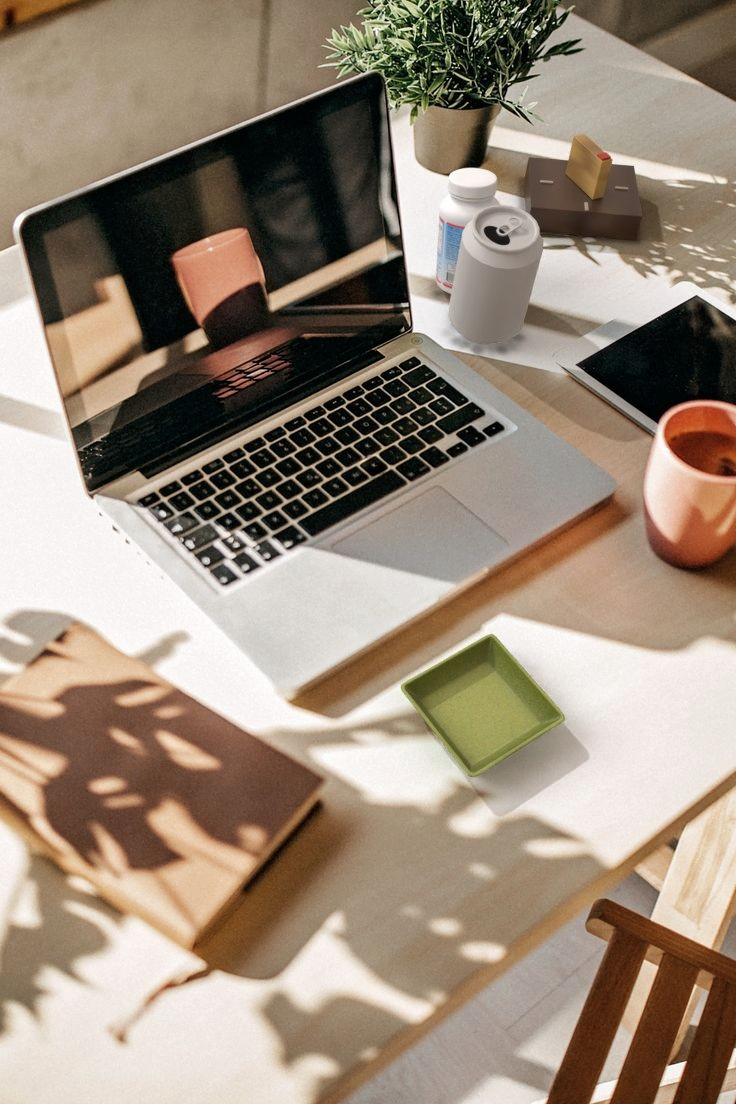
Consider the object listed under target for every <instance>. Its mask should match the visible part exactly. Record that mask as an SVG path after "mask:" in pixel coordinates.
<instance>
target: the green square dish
mask: <svg viewBox="0 0 736 1104" xmlns="http://www.w3.org/2000/svg"><path fill="white" fill-rule="evenodd" d="M400 690H401V692H402V694H403V695H404V696H405V697H406V698H407V700H408V701H409V702H410V704H411V705H412V706H413V707H414V708H415V710H416V711H417V713H418V714H419V715H420V716H421V718H422V719H423V720H424V722H425V723H426V724H427V725H428V727H429V728H430V729H431V730H432V732H433V733H434V735H436V736H437V738H438V739H439V741H440V742H441V743H442V744H443V745H444V747H445V748H446V750H447V751H448V752H449V753H450V755H451V756H452V758H454V760H455V761H456V763H458V765H459V766H460V767H461V768H462V770H463V771H464V772H465V774H466V775H467V776H468V777H470V778H477V777H479V776H480V775H482V774H483V773H485V772H487V771H488V770H490V769H491V768H493V767H495V766H496V765H497V764H499V763H501V762H502V761H504V760H505V759H507V758H509V757H510V756H512V755H513V754H515V753H516V752H518V751H519V750H521V749H522V748H524V747H526V746H527V745H529V744H531V743H533V741H535V740H537V739H539V738H540V737H542V736H543V735H545V734H546V733H548V732H549V731H551V730H553V729H554V728H556V727H558V726H559V725H561V724H562V723H564V722H565V720H566V716H565V714H564V713H563V711H562V710H561V709H560V708H559V706H558V705H557V704H556V703H555V702H554V701H553V699H551V697H550V696H549V695H548V694H547V693H546V692H545V690H543V688H542V687H541V686H540V685H539V684H538V683H537V681H535V679H534V678H533V677H532V675H530V674H529V673H528V671H527V670H526V669H525V667H523V666H522V664H521V663H520V662H519V661H518V660H517V659H516V658H515V657H514V655H513V654H512V653H511V651H509V649H507V647H506V646H505V644H503V642H501V640H500V639H499V638H498V636H496V635H495V634H494V633H490V634H486V635H485V636H483V637H481V638H479V639H477V640H476V641H474V642H472V643H471V644H468V645H467V646H464V647H463V648H462V649H460V650H458V651H457V652H456V653H453V654H452V655H450V656H448V657H446V658H445V659H443V660H441V661H440V662H438V663H436V664H434V665H432V666H431V667H429V668H428V669H425V670H424V671H422V672H420V673H418V674H416V675H415V676H413V677H411V678H409V679H407V680H406V681H404V682H402V683H401V685H400Z"/></svg>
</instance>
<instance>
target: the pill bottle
mask: <svg viewBox="0 0 736 1104" xmlns="http://www.w3.org/2000/svg"><path fill="white" fill-rule="evenodd" d="M497 187H498V177H497V175H496V174H495V173H494V172H492V171H490V170H488V169H485V168H484V169H483V168H479V167H463V168H459V169H456V170H453V171H452V172H450V174H449V176H448V183H447V192H448V195H446V197H445V198H443V200H442V202H441V203H440V206H439V214H438V215H439V216H438V231H437V233H438V235H437V251H436V253H437V254H436V272H435V282H436V284H437V286H438V287H439V289H441V290H442V291H443V292H445V293H447V294H449V295H451V293H452V288H453V282H454V277H455V271H456V265H457V260H458V254H459V249H460V243H461V238H462V232H463V230H464V228H465V227H466V225H467V223H469V222H470V221H471V220H472V219H473V217H474V215H475V214H476V213H477V212H478V211H480V210H481V209H483V208H486V207H489V206H493V205H501V203H500V202H499V200H498V199H497V198H496V197H495V195H496V193H497V191H498V188H497Z"/></svg>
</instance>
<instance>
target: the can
mask: <svg viewBox="0 0 736 1104" xmlns="http://www.w3.org/2000/svg"><path fill="white" fill-rule="evenodd" d="M543 251H544V239H543V237H542V236H541V232H540V228H539V226H538V223H537V221H536V220H535V219H534V218H533V217H532V216H531V215H530V214H529V213H527V212H526V210H524V209H522V208H518V207H517V206H513V205H506V204H500V205H493V206H489V207H486V208H483V209H481V210H480V211H478V212H477V213H476V214H475V215H474V217H473V219H472V220H471V221H470V222H469V223H467V225H466V227H465V228H464V230H463V232H462V238H461V243H460V249H459V254H458V260H457V265H456V271H455V277H454V282H453V288H452V293H451V294H450V299H449V304H448V312H447V313H448V315H447V316H448V319H449V322H450V325H451V326H452V327H453V328H454V329H455V331H456V332H457V333H458V334H459V335H461V336H463V337H465V338H466V339H467V340H469V341H472V342H474V343H477V344H483V345H495V344H501V343H505V342H508V341H510V340H513V338H514V337H516V336H517V335H518V334H520V332H521V330H522V328H523V326H524V322H525V320H526V319H525V318H526V315H527V312H528V308H529V304H530V301H531V297H532V293H533V289H534V286H535V282H536V277H537V275H538V271H539V266H540V263H541V259H542V255H543Z"/></svg>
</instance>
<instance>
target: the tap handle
mask: <svg viewBox="0 0 736 1104" xmlns="http://www.w3.org/2000/svg"><path fill="white" fill-rule="evenodd" d="M567 160H568V164H567V169H566V175H567V176H568V177H569V178H570V179H572V180H573V181H574V182H575V183H576V184H577V185H578V186H579V187H580V188H581V189H582V190H583V191H584V192H585V193H586V194H587V195H588V196H589V197H590V198H591V199H592V200H594V199H598V198H602V197H603V196H604V192H605V188H606V184H607V180H608V176H609V172H610V168H611V164H613V158H612V156H611V155H610V153H608V152H607V151H604V150H603V149H602V148H601V147H600V146H598V144H596V142H594V141H593V140H592V139H591V138H590V137H588V135H586V134H585V133H582V134H576V135H574V136H573V137H572V143H571V147H570V151H569V156H568V159H567Z"/></svg>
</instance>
